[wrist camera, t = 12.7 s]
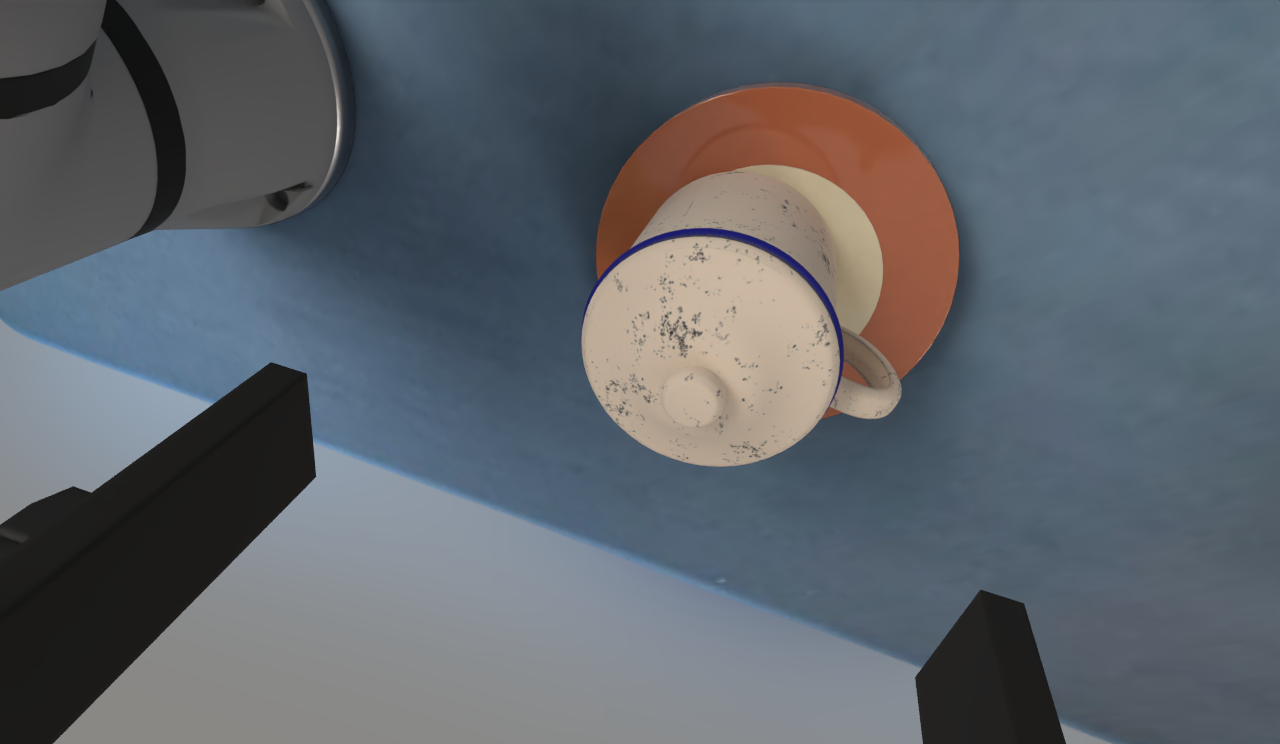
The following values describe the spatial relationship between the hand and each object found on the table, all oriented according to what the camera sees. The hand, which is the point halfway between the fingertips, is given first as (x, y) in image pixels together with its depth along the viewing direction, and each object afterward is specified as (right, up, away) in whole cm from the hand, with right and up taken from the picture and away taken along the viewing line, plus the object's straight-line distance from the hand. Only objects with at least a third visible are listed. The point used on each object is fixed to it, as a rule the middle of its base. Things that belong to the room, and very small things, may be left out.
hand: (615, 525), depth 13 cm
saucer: (+7, +8, +19) cm, 22 cm away
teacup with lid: (+6, +7, +18) cm, 20 cm away
